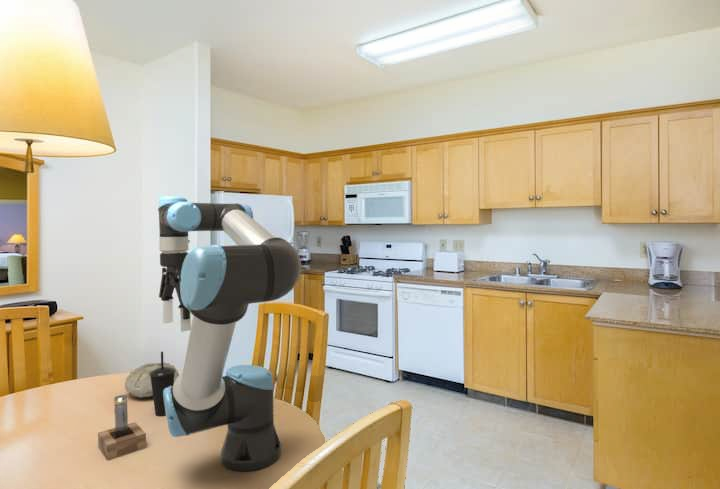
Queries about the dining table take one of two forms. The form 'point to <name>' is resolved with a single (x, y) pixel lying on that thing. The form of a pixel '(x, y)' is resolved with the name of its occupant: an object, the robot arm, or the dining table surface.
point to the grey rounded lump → (144, 379)
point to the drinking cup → (161, 386)
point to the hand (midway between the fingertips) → (176, 326)
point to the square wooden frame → (121, 442)
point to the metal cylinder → (121, 416)
